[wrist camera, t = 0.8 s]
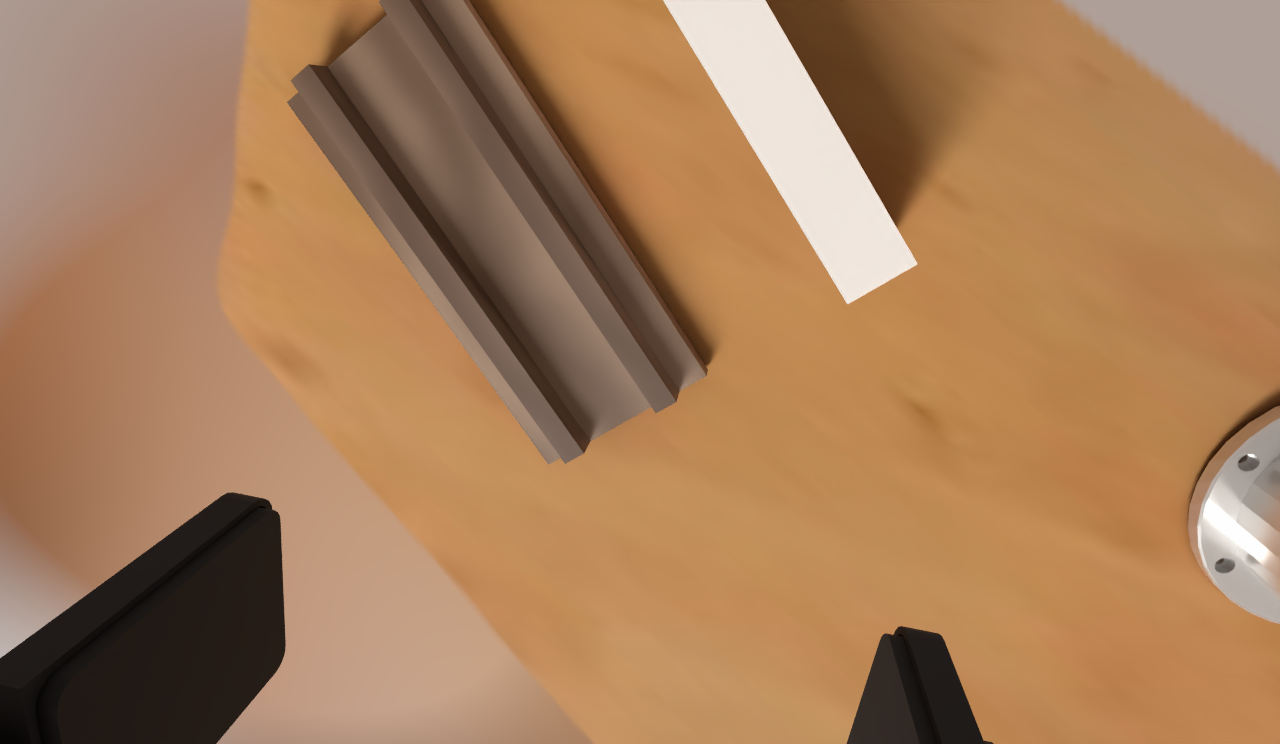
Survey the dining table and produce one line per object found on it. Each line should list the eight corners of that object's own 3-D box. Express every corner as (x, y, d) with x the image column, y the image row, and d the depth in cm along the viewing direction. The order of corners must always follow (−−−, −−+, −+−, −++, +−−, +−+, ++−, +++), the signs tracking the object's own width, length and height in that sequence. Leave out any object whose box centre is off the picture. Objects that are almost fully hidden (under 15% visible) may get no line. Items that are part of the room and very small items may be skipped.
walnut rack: (450, -29, 32) (426, -41, 30) (707, 369, 37) (704, 386, 34) (299, 102, 35) (266, 101, 33) (553, 456, 40) (540, 477, 37)
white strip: (705, -79, 30) (693, -124, 25) (890, 240, 33) (917, 264, 28) (647, -32, 31) (623, -66, 26) (832, 274, 34) (847, 304, 29)
